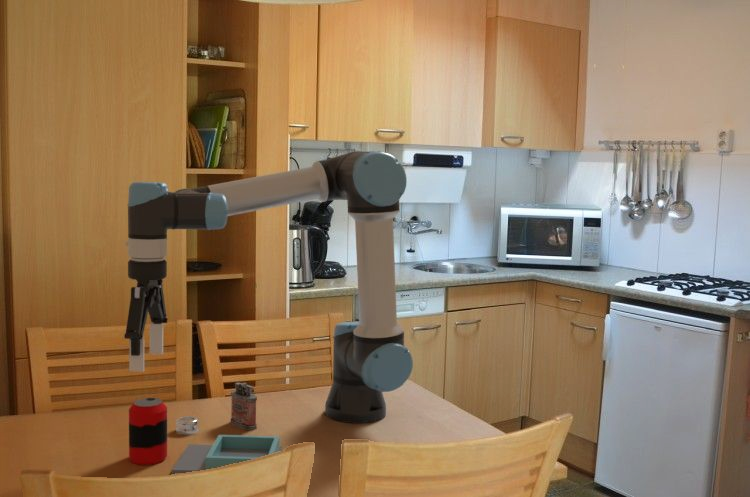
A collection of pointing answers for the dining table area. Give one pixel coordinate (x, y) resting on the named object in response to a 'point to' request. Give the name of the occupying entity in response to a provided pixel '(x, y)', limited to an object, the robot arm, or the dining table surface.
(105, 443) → the dining table surface
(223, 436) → the dock
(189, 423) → the grooved metal pulley
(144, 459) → the soda can
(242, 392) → the lighter
